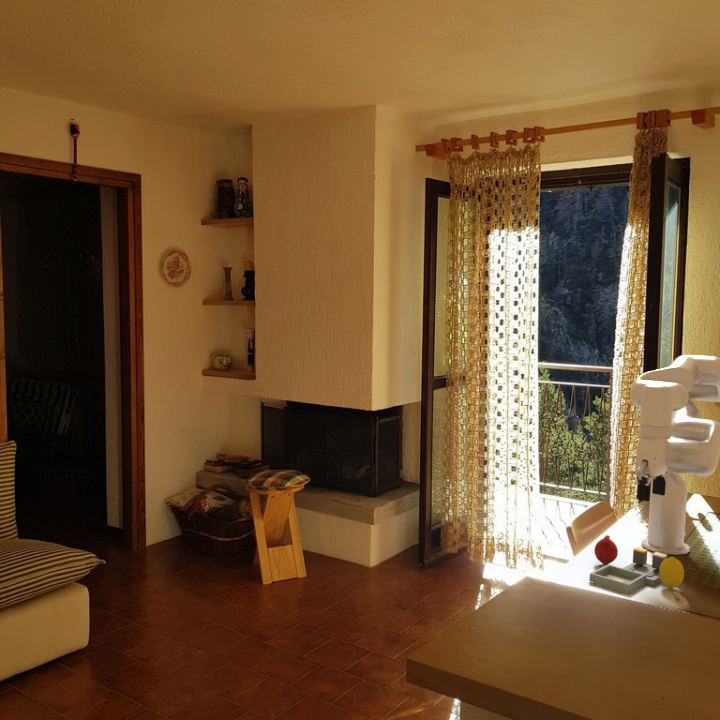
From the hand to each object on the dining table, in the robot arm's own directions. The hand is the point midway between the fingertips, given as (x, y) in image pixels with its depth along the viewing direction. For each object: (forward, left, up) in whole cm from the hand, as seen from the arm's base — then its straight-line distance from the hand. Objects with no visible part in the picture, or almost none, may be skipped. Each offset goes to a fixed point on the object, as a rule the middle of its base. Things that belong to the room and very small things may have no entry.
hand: (650, 497), depth 194 cm
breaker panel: (+7, +3, -18) cm, 20 cm away
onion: (+7, -8, -19) cm, 22 cm away
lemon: (+11, +11, -19) cm, 24 cm away
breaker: (+5, +5, -16) cm, 18 cm away
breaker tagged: (+5, 0, -16) cm, 17 cm away
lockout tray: (+17, 0, -18) cm, 25 cm away
